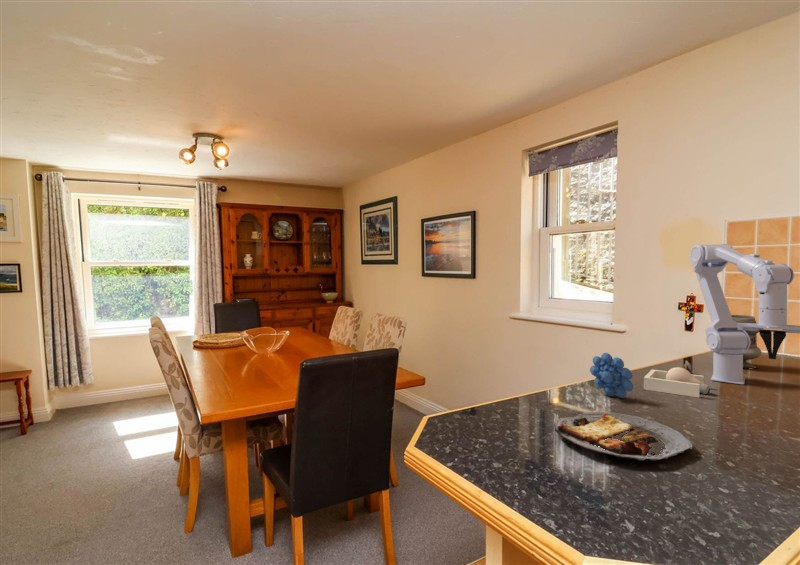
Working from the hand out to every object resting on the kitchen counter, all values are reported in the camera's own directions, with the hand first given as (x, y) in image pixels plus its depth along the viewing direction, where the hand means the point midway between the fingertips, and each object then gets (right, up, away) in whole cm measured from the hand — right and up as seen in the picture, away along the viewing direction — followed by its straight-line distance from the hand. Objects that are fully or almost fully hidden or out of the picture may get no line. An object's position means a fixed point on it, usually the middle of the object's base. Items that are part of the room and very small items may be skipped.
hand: (772, 358), depth 112 cm
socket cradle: (-20, -11, +9) cm, 24 cm away
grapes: (-43, -11, +2) cm, 45 cm away
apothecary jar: (+19, -9, +34) cm, 40 cm away
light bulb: (-18, -11, +7) cm, 22 cm away
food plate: (-56, -13, -26) cm, 63 cm away
